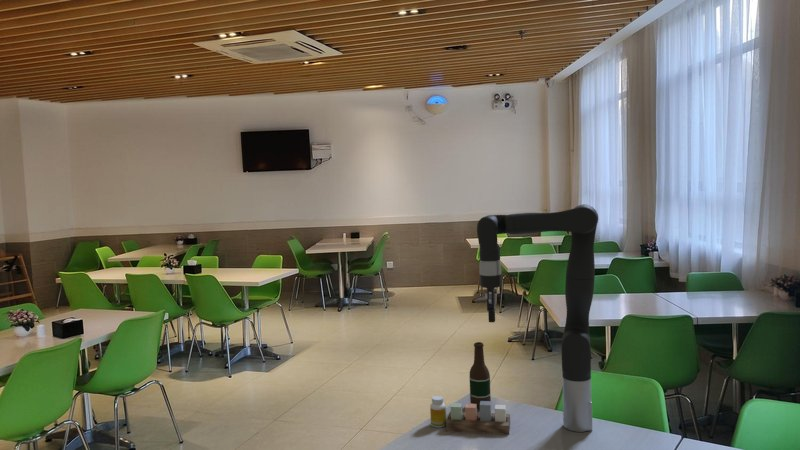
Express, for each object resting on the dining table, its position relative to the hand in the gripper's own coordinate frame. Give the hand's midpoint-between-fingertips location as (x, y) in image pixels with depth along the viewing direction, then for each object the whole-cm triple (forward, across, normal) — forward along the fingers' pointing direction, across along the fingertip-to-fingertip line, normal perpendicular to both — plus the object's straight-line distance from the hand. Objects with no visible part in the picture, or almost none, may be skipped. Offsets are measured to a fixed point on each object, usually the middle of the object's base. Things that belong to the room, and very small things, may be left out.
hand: (491, 321), depth 214 cm
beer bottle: (+35, +11, +6) cm, 37 cm away
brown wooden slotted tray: (+35, -8, +5) cm, 36 cm away
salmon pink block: (+33, -8, +8) cm, 35 cm away
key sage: (+34, -8, +13) cm, 37 cm away
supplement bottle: (+35, -8, +19) cm, 41 cm away
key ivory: (+34, -8, -2) cm, 35 cm away
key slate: (+32, -8, +3) cm, 33 cm away
